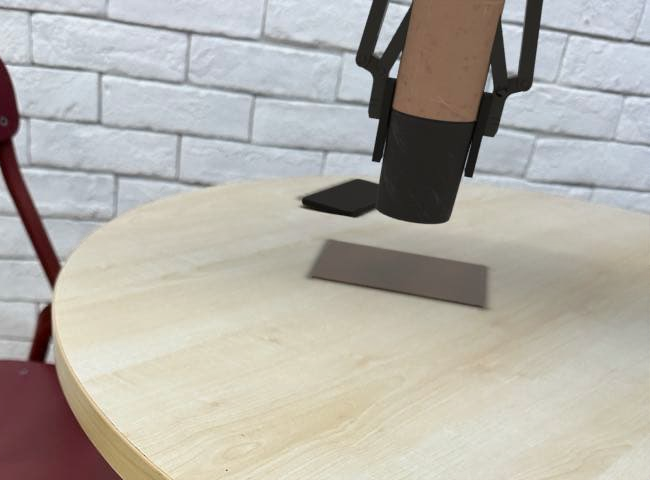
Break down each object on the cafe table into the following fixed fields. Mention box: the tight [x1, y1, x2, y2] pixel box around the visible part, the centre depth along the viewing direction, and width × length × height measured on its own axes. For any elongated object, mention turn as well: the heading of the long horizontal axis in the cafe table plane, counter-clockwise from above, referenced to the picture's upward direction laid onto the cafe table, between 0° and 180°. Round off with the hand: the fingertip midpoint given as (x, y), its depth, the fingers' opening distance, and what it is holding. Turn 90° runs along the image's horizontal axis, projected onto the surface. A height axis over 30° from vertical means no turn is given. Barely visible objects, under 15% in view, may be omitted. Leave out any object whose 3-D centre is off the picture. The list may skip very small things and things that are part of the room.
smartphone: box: [301, 178, 379, 218], centre depth 105 cm, size 7×1×15 cm
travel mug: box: [375, 0, 506, 225], centre depth 74 cm, size 8×8×20 cm
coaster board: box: [311, 239, 485, 309], centre depth 83 cm, size 16×12×1 cm
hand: (422, 166), depth 77 cm, fingers closed on travel mug, 8 cm apart
